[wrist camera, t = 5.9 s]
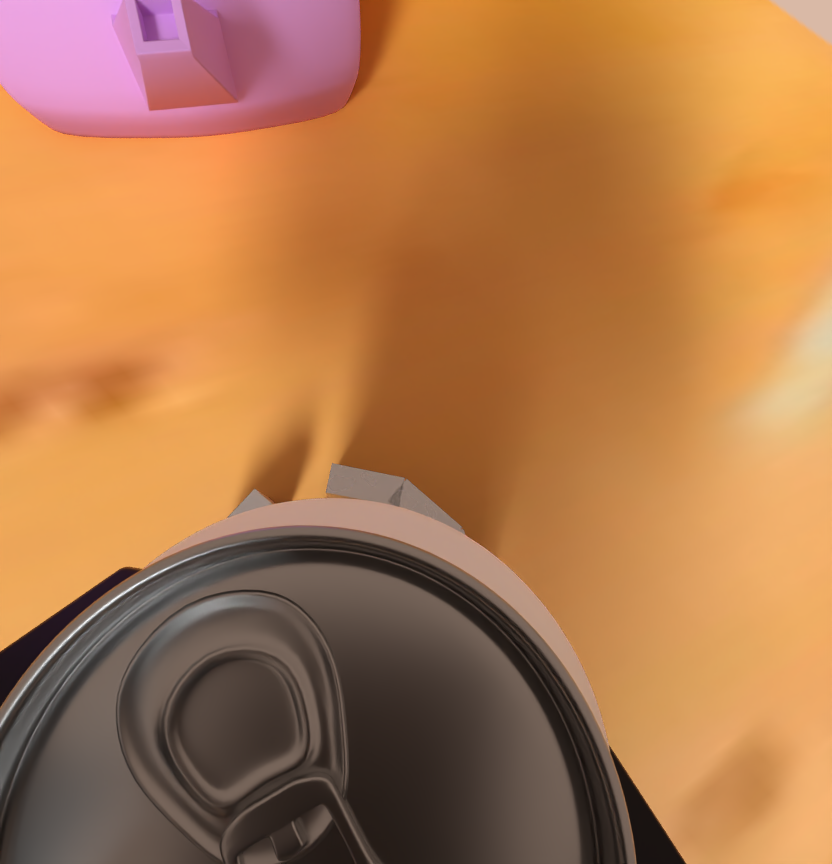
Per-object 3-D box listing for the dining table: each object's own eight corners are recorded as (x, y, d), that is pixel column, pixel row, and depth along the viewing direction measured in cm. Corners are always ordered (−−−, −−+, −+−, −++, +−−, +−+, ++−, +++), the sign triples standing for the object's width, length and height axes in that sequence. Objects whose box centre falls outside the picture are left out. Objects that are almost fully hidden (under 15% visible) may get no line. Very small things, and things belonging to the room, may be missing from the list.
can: (419, 489, 17) (442, 357, 5) (527, 684, 16) (868, 1075, 4) (229, 594, 16) (-238, 712, 4) (328, 805, 15) (46, 1706, 3)
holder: (502, 685, 20) (528, 708, 18) (248, 794, 19) (231, 840, 16) (417, 446, 22) (428, 432, 19) (174, 527, 20) (145, 524, 17)
